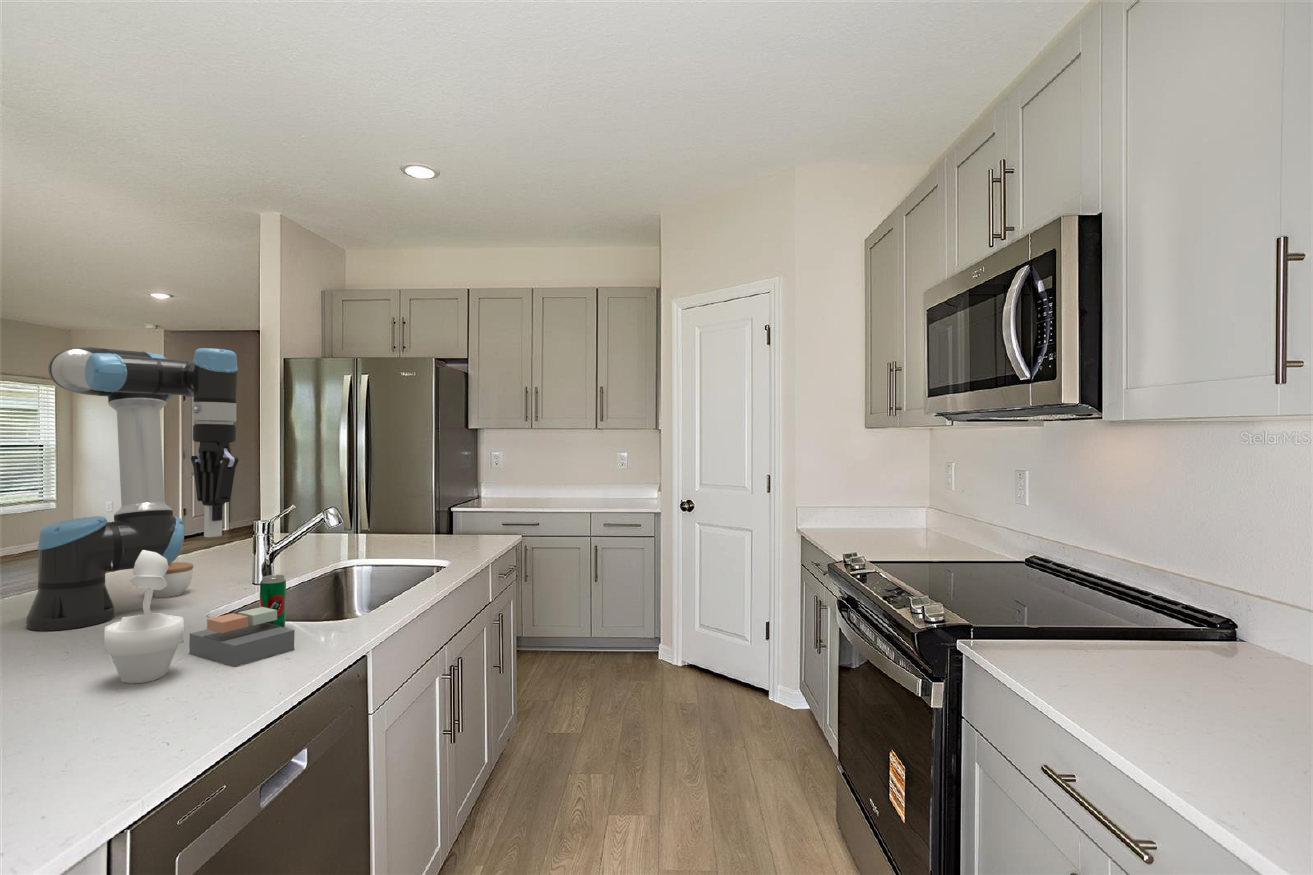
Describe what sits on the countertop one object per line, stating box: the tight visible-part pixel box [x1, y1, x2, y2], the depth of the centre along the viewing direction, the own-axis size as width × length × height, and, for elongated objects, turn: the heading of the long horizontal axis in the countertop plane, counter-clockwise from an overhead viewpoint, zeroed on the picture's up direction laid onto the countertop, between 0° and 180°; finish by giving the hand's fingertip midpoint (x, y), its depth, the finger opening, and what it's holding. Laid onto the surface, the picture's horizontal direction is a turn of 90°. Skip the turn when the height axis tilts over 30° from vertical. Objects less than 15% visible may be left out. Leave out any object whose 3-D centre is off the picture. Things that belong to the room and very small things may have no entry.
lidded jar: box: [152, 561, 194, 598], centre depth 181 cm, size 11×11×9 cm
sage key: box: [237, 606, 277, 625], centre depth 138 cm, size 5×5×2 cm
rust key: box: [206, 612, 248, 633], centre depth 133 cm, size 5×5×2 cm
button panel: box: [188, 623, 296, 668], centre depth 136 cm, size 15×12×4 cm
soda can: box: [259, 574, 287, 628], centre depth 150 cm, size 5×5×12 cm
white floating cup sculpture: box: [103, 550, 185, 685], centre depth 120 cm, size 13×12×25 cm
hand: (213, 536), depth 140 cm, fingers closed
